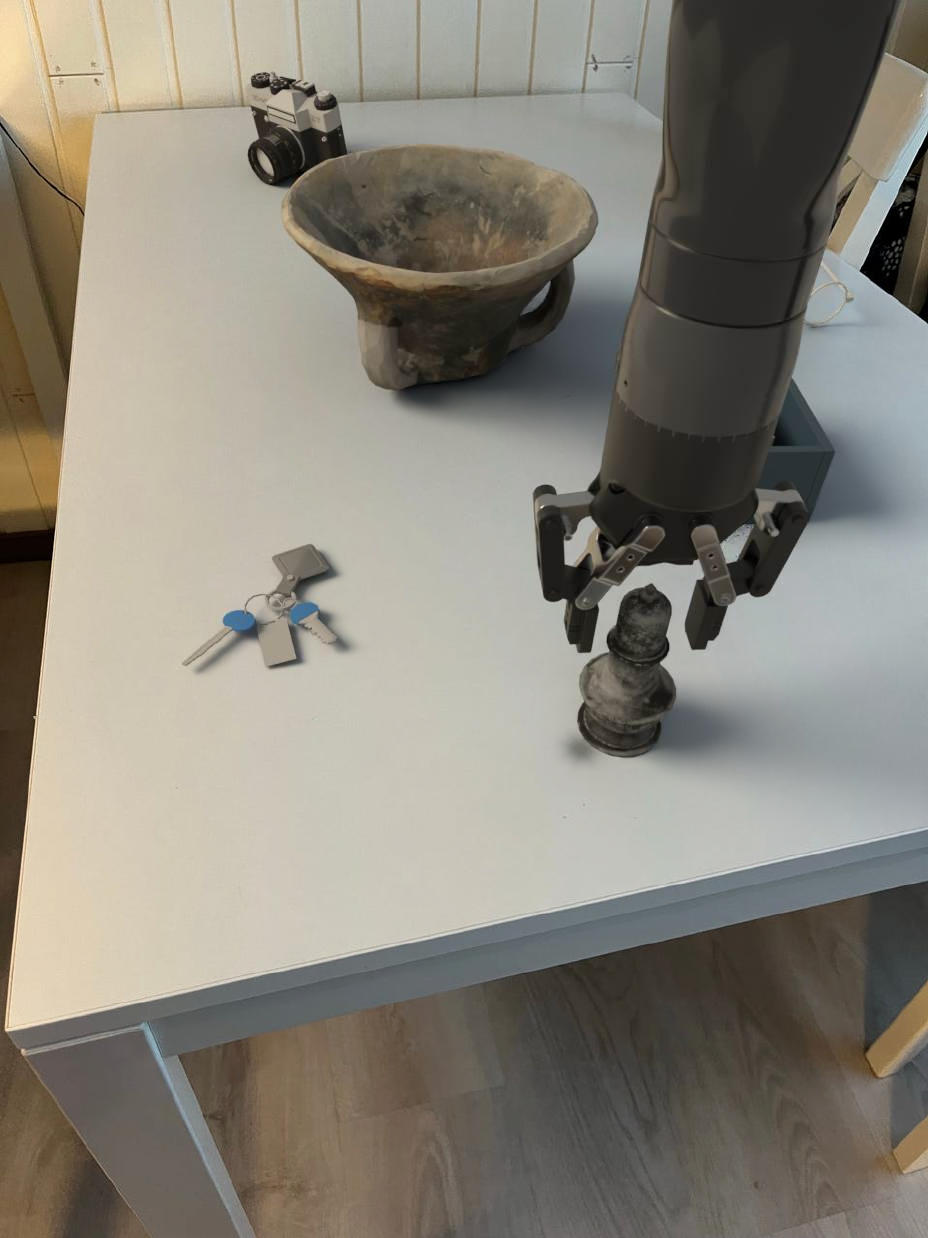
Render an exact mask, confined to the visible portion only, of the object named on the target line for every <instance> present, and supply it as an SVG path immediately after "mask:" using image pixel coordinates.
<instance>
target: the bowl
mask: <svg viewBox="0 0 928 1238" xmlns="http://www.w3.org/2000/svg"><path fill="white" fill-rule="evenodd" d="M347 154H348V155H345V156H341V157H338V158H333V159H328V160H325V161H324V162H322V163H320V164H318V165H317V166H315V167H313V168H311V169H310V170H308V171H307V172H303V174H302V175H301V176H300V177H298V178H297V179H296V180H295V182H294V183H293V184H292V185H291V187H290V188H289V189H288V190H287V192H286V193H285V195H284V197H283V198H282V201H281V205H280V206H281V208H280V219H281V221H282V224H283V227H284V229H285V231H286V232H287V233H288V235H289V236H290V237H291V238H292V240H293V241H294V242H295V243H296V245H298V246H299V247H300V248H301V249H302V250H303V251H304V252H305V253H307V254H308V256H309V257H311V258H312V259H313V260H314V261H315V263H317V265H319V267H321V268H323V269H324V270H325V271H327V273H329V274H330V275H331V276H332V277H333V278H334V279H335V280H336V281H337V282H338V283H339V284H340V285H341V286H342V287H343V288H344V289H345V290H346V291H347V292H348V294H350V296H351V297H352V299H353V301H354V303H355V306H356V307H355V308H356V311H357V335H358V336H357V337H358V338H357V339H358V344H359V345H358V346H359V352H360V359H361V365H362V366H363V368H364V371H365V373H366V375H367V378H368V380H369V381H370V382H371V383H372V384H373V385H374V386H376V387H378V388H381V389H383V390H389V391H399V390H402V389H405V388H408V387H411V386H416V385H426V384H434V383H439V382H440V383H441V382H448V381H459V380H465V379H468V378H472V377H473V376H481V375H486V374H488V373H490V372H492V371H494V370H495V369H497V368H498V367H500V366H501V365H502V364H504V363H505V361H506V360H507V358H508V355H509V353H511V352H514V351H517V350H521V349H524V348H527V347H530V346H534V345H536V344H538V343H540V342H542V341H543V340H544V339H546V338H547V337H548V336H549V335H550V334H551V333H552V332H554V331H555V330H556V329H557V327H558V326H559V324H560V323H561V322H562V320H563V319H564V317H565V314H566V311H567V309H568V306H569V304H570V301H571V298H572V294H573V290H574V286H575V280H576V275H575V264H574V259H576V258H577V257H578V256H579V255H580V254H581V253H583V252H584V250H586V248H587V247H588V245H590V243H592V240H593V238H594V237H595V234H596V233H597V227H598V226H599V213H598V210H597V207H596V205H595V202H594V200H593V198H592V196H591V195H590V193H589V192H588V191H587V190H586V188H585V187H583V186H582V185H581V184H580V183H578V181H576V179H574V178H573V177H571V176H570V175H568V174H566V173H564V172H561V171H559V170H555V169H553V168H552V169H551V168H548V167H545V166H543V165H540V164H538V163H536V162H533V161H531V160H529V159H527V158H525V157H522V156H520V155H517V154H516V155H515V154H513V153H510V152H509V153H508V152H504V151H502V150H495V149H489V148H479V147H478V148H477V147H476V148H475V147H468V146H467V147H466V146H458V145H448V144H433V143H407V144H400V145H392V146H382V147H377V148H372V149H367V150H366V149H365V150H360V151H356V152H351V153H347ZM548 284H549V286H548V291H547V293H546V295H545V297H544V299H543V300H542V302H541V303H540V304H539V305H538V306H537V307H536V308H534V309H532V310H531V311H528V312H525V313H523V312H524V310H525V308H527V306H528V305H530V303H531V302H532V301H533V300H534V298H536V297H537V296H538V294H540V292H541V291H542V290H543V289H544V288H545V287H546V286H547V285H548ZM522 313H523V314H522Z"/></svg>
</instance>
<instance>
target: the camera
mask: <svg viewBox="0 0 928 1238" xmlns="http://www.w3.org/2000/svg"><path fill="white" fill-rule="evenodd" d="M245 91H246V95H247V98H248V102H249V106H250V110H251V116H252V118H253V121H254V125H255V129H256V131H257V136H258V139H256V140H255V141H253V142H251V144H250V145H249V147H248V149H247V159H248V163H249V165H250V169H251V170H252V171H253V173H254V174H255V176H256V177H257V178H258V179H259V180H260V181H261V182H263V184H267V185H272V184H276V183H277V182H279V181H282V180H283V179H284V177H286V176H288V175H291V174H294V173H295V172H297V171H299V172H303V173H305V172H307V171H308V170H310V169H311V168H313V167H315V166H317V165H318V164H320V163H322V162H324V161H325V160H328V159H333V158H338V157H341V156H345V155H348V154H349V153H348V149H347V145H346V138H345V132H344V129H343V122H342V118H341V112H340V105H339V103H338V101H337V97H336V96H335V95H334V94H332V93H331V91H329V90H326V89H325V90H321V91H319V92H318V91H317V90H316V85H315V82H312V83H311V82H309V81H308V82H307V81H305V80H304V79H302V78H299V79H295V78H292V77H291V78H290V77H286V76H281V75H280V76H278V75H276V71H270V72H266V71H264V72H263V71H262V72H258V73H255V74H253V75H251V76H250V83H248V84H247V85H246V86H245Z"/></svg>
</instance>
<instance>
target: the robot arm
mask: <svg viewBox="0 0 928 1238" xmlns="http://www.w3.org/2000/svg"><path fill="white" fill-rule="evenodd" d="M903 3H904V0H672V1H671V8H670V15H669V23H668V35H667V43H666V44H667V45H666V59H665V71H664V72H665V73H664V87H663V89H664V90H663V106H662V130H661V131H662V132H661V133H662V135H661V138H662V140H661V159H660V164H659V165H660V166H659V169H658V173H657V178H656V181H655V186H654V187H653V188H654V189H653V193H652V198H651V202H650V207H649V213H648V214H649V215H648V219H647V225H646V230H645V236H644V242H643V247H642V254H641V259H640V264H639V265H640V267H639V270H638V271H639V272H638V278H637V281H636V286H635V290H634V294H633V296H632V298H631V299H632V300H631V302H630V306H629V308H628V311H627V315H626V318H625V323H624V326H623V331H622V336H621V340H620V346H619V348H618V350H617V352H616V357H615V362H614V370H615V378H614V384H613V389H612V396H611V401H610V402H611V403H610V406H609V407H610V408H609V413H608V420H607V425H606V431H605V437H604V443H603V450H602V456H601V464H600V469H599V471H598V473H597V474H596V476H595V478H594V479H593V480H592V481H591V482H590V483H589V485H588V487H587V488H586V490H582V491H575V492H567V493H560V494H558V493H557V489H556V487H554V486H553V485H551V484H547V483H546V484H545V483H544V484H541V485H538V486H536V487H535V489H534V490H533V492H532V506H533V519H534V521H533V522H534V533H535V548H536V549H535V551H536V563H537V564H536V565H537V570H538V575H539V581H540V586H541V591H542V596H543V598H544V600H545V601H547V602H550V603H557V602H560V601H562V600H565V601H566V603H565V610H564V614H563V615H564V616H563V624H564V629H565V630H564V631H565V634H566V639H567V642H568V644H569V645H571V646H572V645H575V647H576V653H577V654H591V653H592V649H593V644H594V639H595V635H596V629H597V625H598V620H599V619H598V618H599V613H600V607H599V602H600V601H601V600H602V599H603V598H604V597H605V596H606V594H607V593H608V592H609V591H610V589H611V588H612V587H613V586H616V587H619V586H621V585H622V584H623V583H624V581H625V580H626V579H627V578H628V577H629V576H630V575H631V573H632V572H633V571H634V569H635V568H636V567H650V566H655V565H661V564H669V565H674V566H675V565H676V566H693V565H694V563H695V561H697V560H698V561H699V564H700V567H701V569H702V572H703V579H700V578H699V579H696V580H695V583H694V584H695V585H694V588H693V591H692V595H691V599H690V602H689V605H688V608H687V613H686V616H685V620H684V631H685V635H686V637H687V640H688V644H689V646H690V650H692V651H705V650H706V649H707V647H708V643H709V642H713V641H715V640H716V639H717V637H718V636H719V635H720V632H721V629H722V626H723V623H724V620H725V618H726V617H725V616H726V614H727V610H728V607H729V606H730V605H732V604H733V603H734V602H735V601H736V599H737V597H739V596H742V595H746V594H749V595H750V596H751V597H753V598H763V597H765V596H767V595H769V594H770V592H771V591H772V590H773V588H774V586H775V584H776V582H777V580H778V578H779V576H780V575H781V573H782V571H783V569H784V567H785V565H786V564H787V562H788V560H789V558H790V556H791V554H792V553H793V551H794V549H795V547H796V545H797V543H798V542H799V540H800V538H801V536H802V535H803V533H804V531H805V529H806V527H807V526H808V524H809V523H810V521H811V518H810V515H809V513H808V511H807V509H806V507H805V504H804V502H803V500H802V498H801V496H800V494H799V493H798V492H797V490H796V488H795V486H794V484H793V483H792V482H790V481H783V482H780V483H778V484H776V485H775V486H774V487H773V489H772V490H768V489H758V488H756V486H757V484H758V482H759V480H760V477H761V474H762V471H763V467H764V464H765V461H766V458H767V455H768V451H769V448H770V445H771V442H772V439H773V435H774V432H775V429H776V426H777V423H778V419H779V416H780V413H781V410H782V406H783V403H784V400H785V397H786V394H787V391H788V388H789V384H790V381H791V378H793V375H794V372H795V368H796V366H797V362H798V357H799V354H800V348H801V343H802V337H803V330H804V324H803V323H804V322H805V321H804V319H806V313H807V311H808V307H809V302H810V300H811V298H810V296H811V293H812V292H813V291H814V287H815V284H816V281H817V280H816V279H817V277H818V274H819V270H820V267H821V261H823V257H824V254H825V251H826V247H827V244H828V241H829V238H830V233H831V230H832V226H833V222H834V218H835V215H836V211H837V206H838V200H839V194H840V189H841V178H842V170H843V169H844V166H845V163H846V161H847V157H848V156H849V153H850V150H851V148H852V145H853V142H854V140H855V137H856V134H857V132H858V129H859V126H860V124H861V121H862V118H863V115H864V114H865V113H864V112H865V110H866V107H867V106H868V103H869V102H868V101H869V99H870V97H871V94H872V91H873V88H874V85H875V83H876V80H877V77H878V74H879V72H880V69H881V66H882V64H883V61H884V57H885V55H886V52H887V49H888V46H889V43H890V40H891V37H892V35H893V32H894V29H895V27H896V24H897V20H898V17H899V15H900V12H901V9H902V6H903ZM753 516H754V518H755V520H756V523H755V524H753V527H752V528H751V530H750V533H749V535H748V536H747V539H746V541H745V543H744V545H743V546H742V549H741V551H740V553H739V555H738V557H737V559H736V560H734V561H731V562H727V561H726V560H727V559H726V557H725V555H724V551H723V548H722V543H724V542H725V541H726V540H727V539H728V538H730V536H732V535H733V534H734V533H735V532H737V531H738V530H739V529H740V528H742V527H743V526H744V525H746V524H745V523H746V522H747V521H749V520H750V519H751V518H752V517H753ZM589 517H590V518H591V520H592V521H593V522H594V523H595V525H596V526H595V528H594V529H593V530H592V532H590V534H589V536H588V539H587V544H586V547H585V548H584V550H583V551H582V553H581V554H580V555H579V556H578V558H577V559H576V560H575V562H573V564H572V565H569V564H567V563H566V555H565V542H568V541H569V542H570V541H571V540H572V539H573V538H574V536H573V535H574V534H576V532H577V531H578V527H579V524H580V522H581V521H582V520H584V519H586V518H589ZM809 520H810V521H809Z"/></svg>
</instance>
